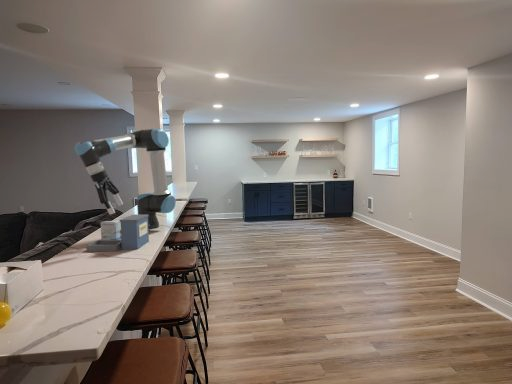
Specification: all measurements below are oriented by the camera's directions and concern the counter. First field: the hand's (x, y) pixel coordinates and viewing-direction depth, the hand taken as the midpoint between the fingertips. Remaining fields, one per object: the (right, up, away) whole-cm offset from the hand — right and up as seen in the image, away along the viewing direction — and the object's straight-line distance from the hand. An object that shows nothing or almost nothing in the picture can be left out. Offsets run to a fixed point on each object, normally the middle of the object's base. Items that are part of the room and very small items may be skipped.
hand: (116, 209), depth 166 cm
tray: (-3, -20, -5) cm, 20 cm away
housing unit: (+10, -19, +1) cm, 21 cm away
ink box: (-6, -19, +7) cm, 21 cm away
